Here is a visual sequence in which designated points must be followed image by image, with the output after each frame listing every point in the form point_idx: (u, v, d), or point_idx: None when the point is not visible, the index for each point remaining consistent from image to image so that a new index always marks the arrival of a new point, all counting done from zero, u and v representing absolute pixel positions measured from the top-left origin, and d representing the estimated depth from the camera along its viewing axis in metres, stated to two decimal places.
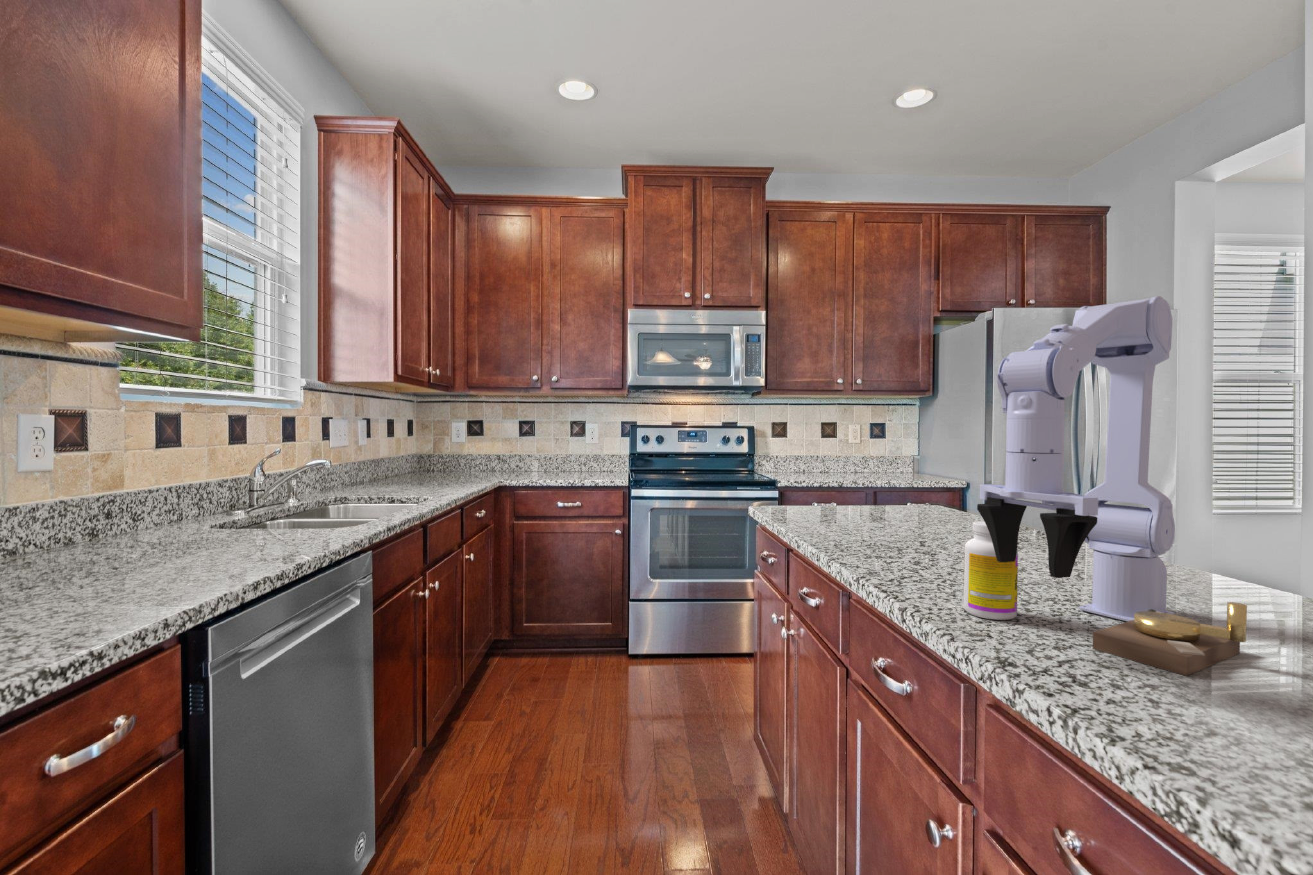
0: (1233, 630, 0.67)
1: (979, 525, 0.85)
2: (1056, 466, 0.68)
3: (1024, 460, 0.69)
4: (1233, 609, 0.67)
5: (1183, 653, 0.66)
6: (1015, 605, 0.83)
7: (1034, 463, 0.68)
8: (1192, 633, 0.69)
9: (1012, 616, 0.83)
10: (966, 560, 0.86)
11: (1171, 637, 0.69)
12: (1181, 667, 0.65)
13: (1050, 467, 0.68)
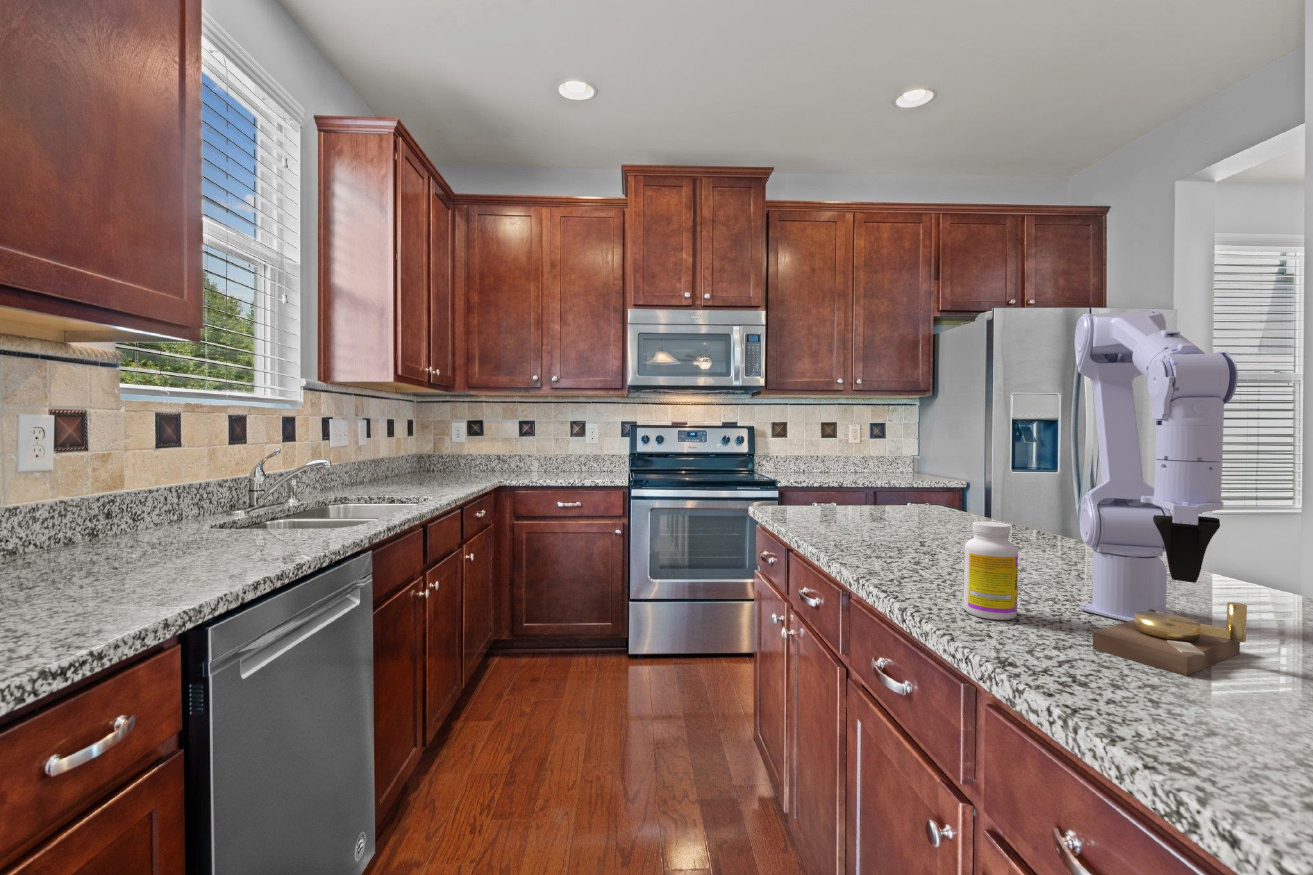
0: (1233, 630, 0.67)
1: (979, 525, 0.85)
2: (1188, 474, 0.66)
3: (1157, 467, 0.69)
4: (1233, 609, 0.67)
5: (1183, 653, 0.66)
6: (1015, 605, 0.83)
7: (1163, 469, 0.68)
8: (1192, 633, 0.69)
9: (1012, 616, 0.83)
10: (966, 560, 0.86)
11: (1171, 637, 0.69)
12: (1181, 667, 0.65)
13: (1179, 475, 0.66)
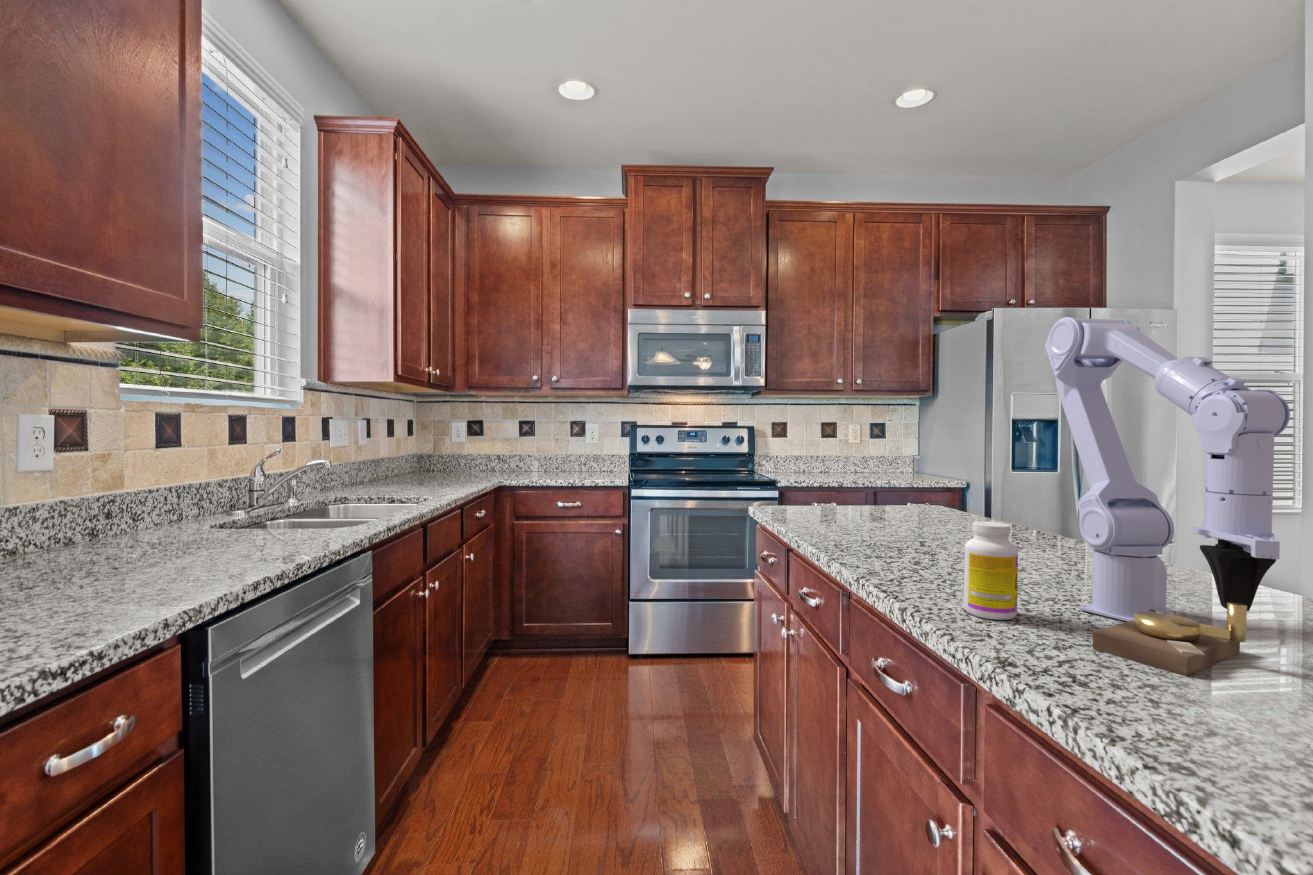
0: (1233, 630, 0.67)
1: (979, 525, 0.85)
2: (1250, 507, 0.68)
3: (1213, 499, 0.71)
4: (1233, 609, 0.67)
5: (1183, 653, 0.66)
6: (1015, 605, 0.83)
7: (1222, 502, 0.70)
8: (1192, 633, 0.69)
9: (1012, 616, 0.83)
10: (966, 560, 0.86)
11: (1171, 637, 0.69)
12: (1181, 667, 0.65)
13: (1241, 508, 0.68)
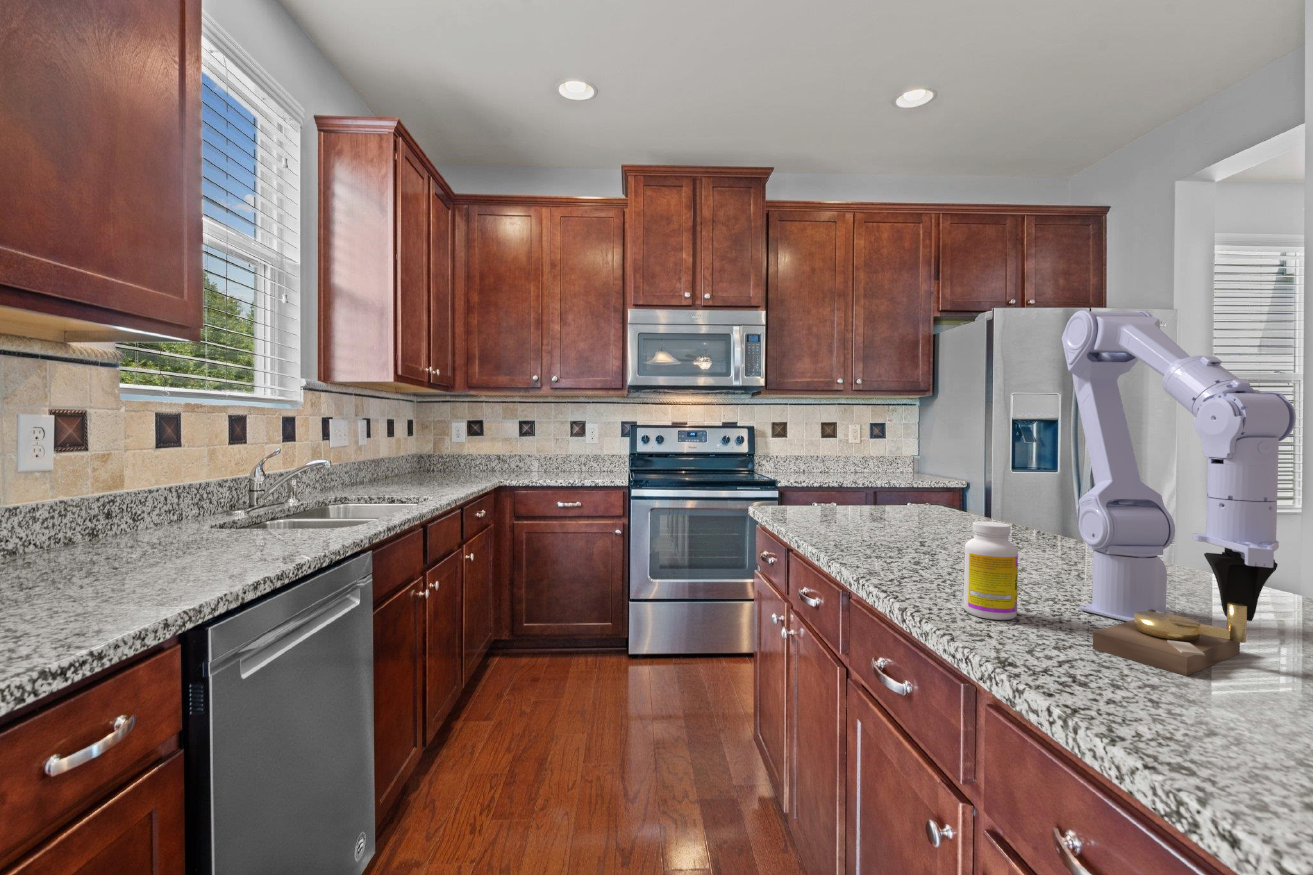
0: (1233, 630, 0.67)
1: (979, 525, 0.85)
2: (1250, 514, 0.66)
3: (1213, 505, 0.69)
4: (1233, 609, 0.67)
5: (1183, 653, 0.66)
6: (1015, 605, 0.83)
7: (1221, 509, 0.68)
8: (1191, 633, 0.69)
9: (1012, 616, 0.83)
10: (966, 560, 0.86)
11: (1170, 637, 0.69)
12: (1181, 667, 0.65)
13: (1240, 514, 0.66)
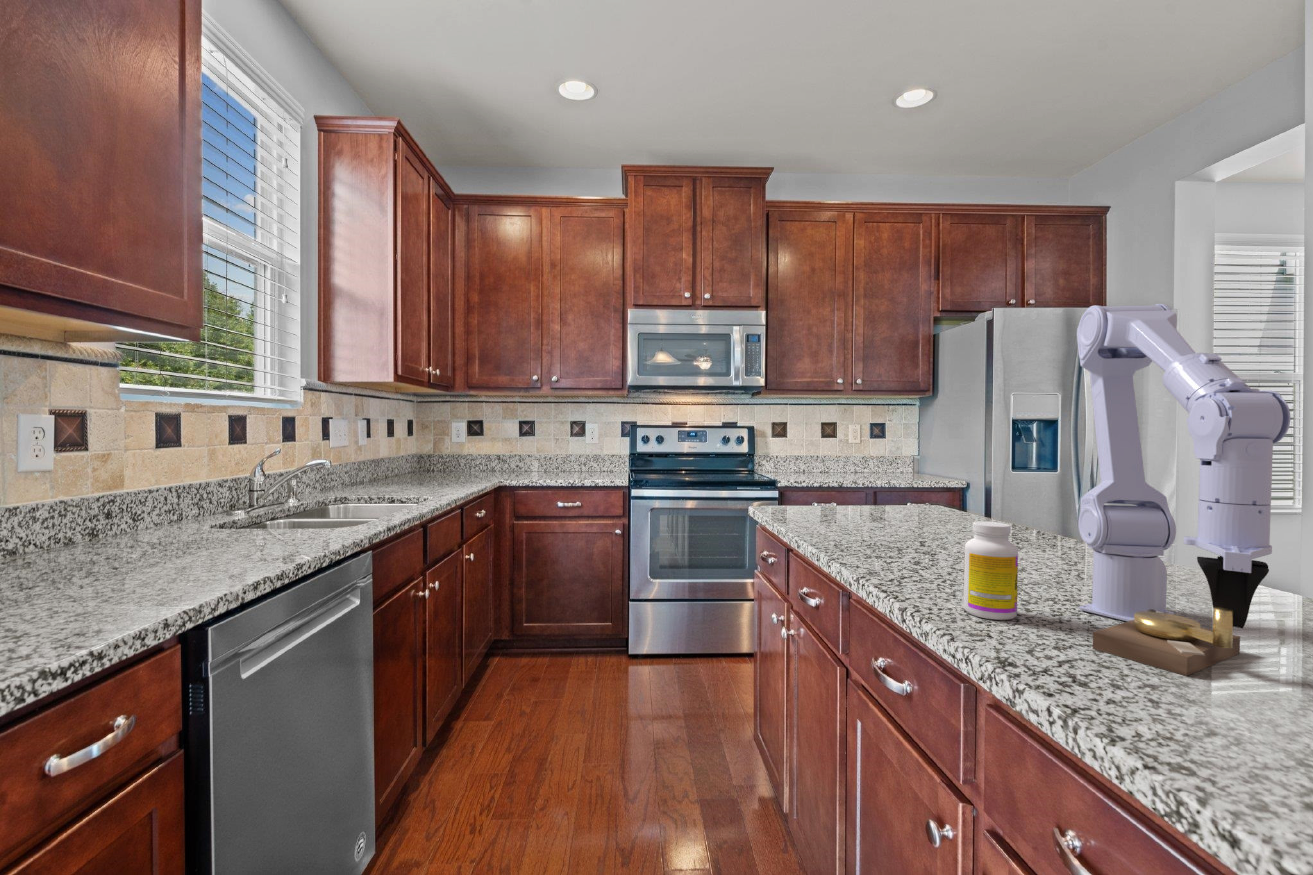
0: (1214, 634, 0.66)
1: (979, 525, 0.85)
2: (1237, 517, 0.64)
3: (1202, 508, 0.67)
4: (1214, 613, 0.66)
5: (1183, 653, 0.66)
6: (1015, 605, 0.83)
7: (1209, 511, 0.66)
8: (1173, 631, 0.69)
9: (1012, 616, 0.83)
10: (966, 560, 0.86)
11: (1149, 632, 0.71)
12: (1181, 667, 0.65)
13: (1227, 518, 0.64)
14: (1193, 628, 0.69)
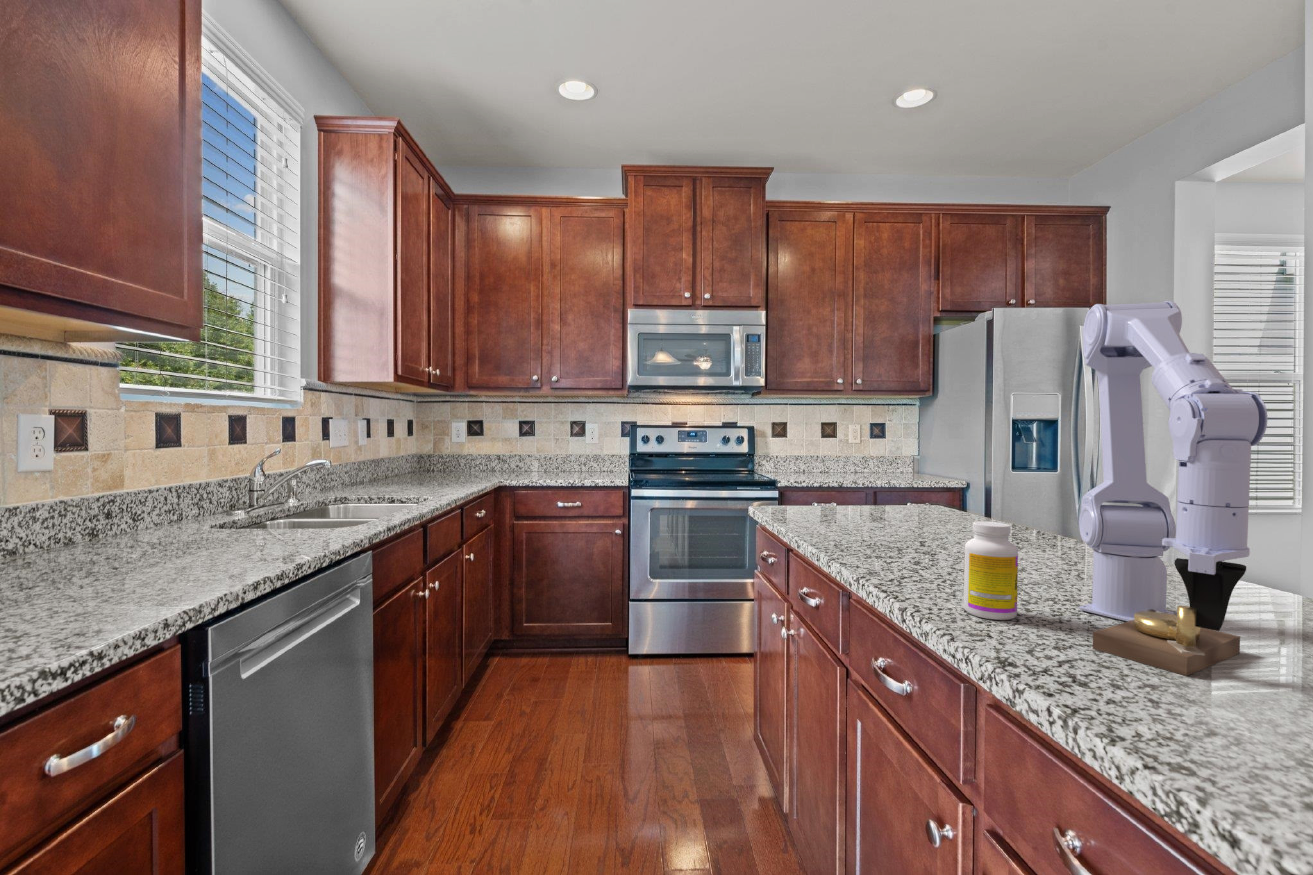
0: (1176, 631, 0.67)
1: (979, 525, 0.85)
2: (1210, 519, 0.64)
3: (1179, 509, 0.67)
4: (1177, 610, 0.67)
5: (1183, 653, 0.66)
6: (1015, 605, 0.83)
7: (1184, 513, 0.66)
8: (1152, 627, 0.70)
9: (1012, 616, 0.83)
10: (966, 560, 0.86)
11: (1136, 627, 0.73)
12: (1181, 667, 0.65)
13: (1200, 519, 0.64)
14: (1173, 627, 0.69)
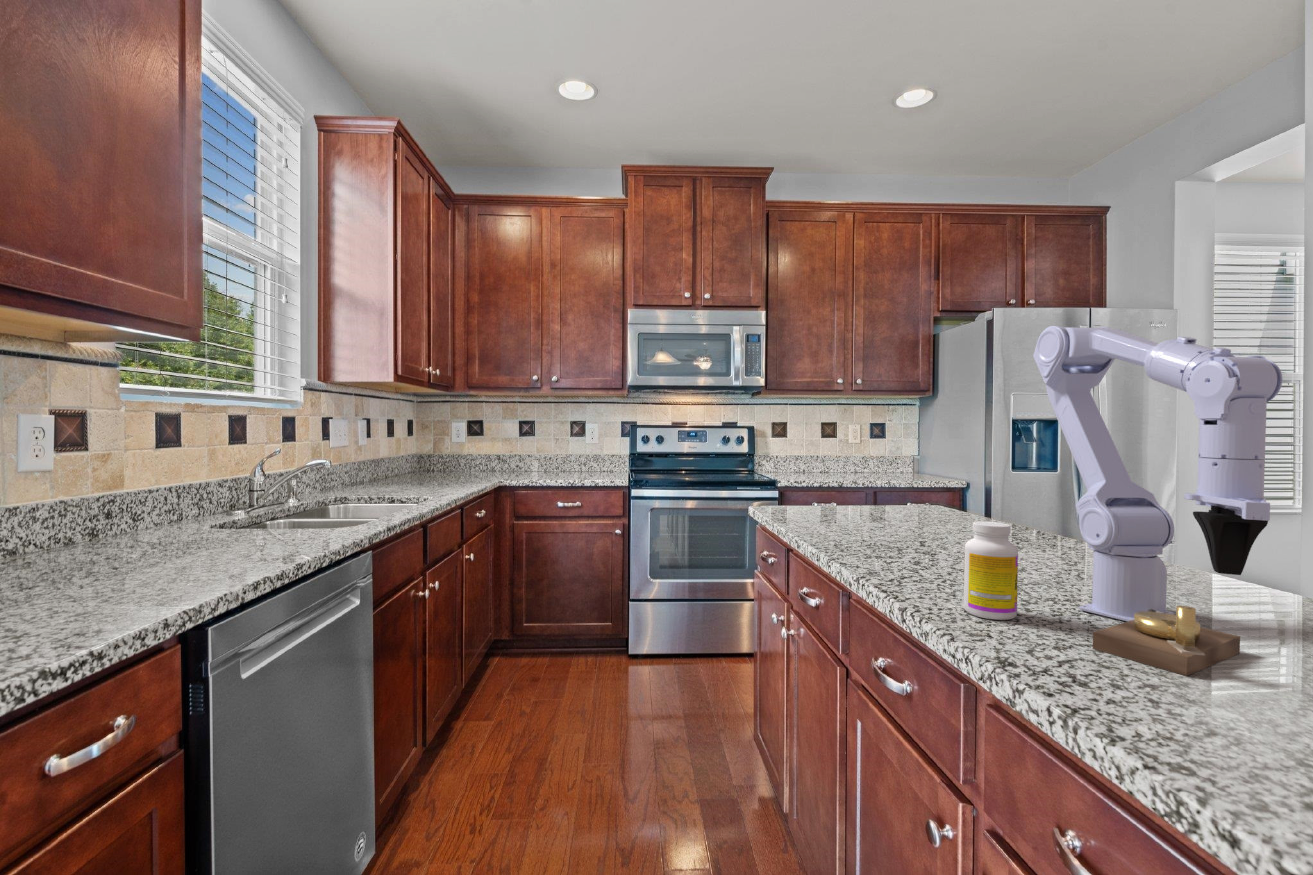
0: (1176, 631, 0.67)
1: (979, 525, 0.85)
2: (1242, 471, 0.69)
3: (1206, 465, 0.71)
4: (1176, 610, 0.67)
5: (1183, 653, 0.66)
6: (1015, 605, 0.83)
7: (1214, 467, 0.70)
8: (1152, 627, 0.71)
9: (1012, 616, 0.83)
10: (966, 560, 0.86)
11: (1136, 627, 0.73)
12: (1181, 667, 0.65)
13: (1233, 472, 0.69)
14: (1172, 627, 0.69)
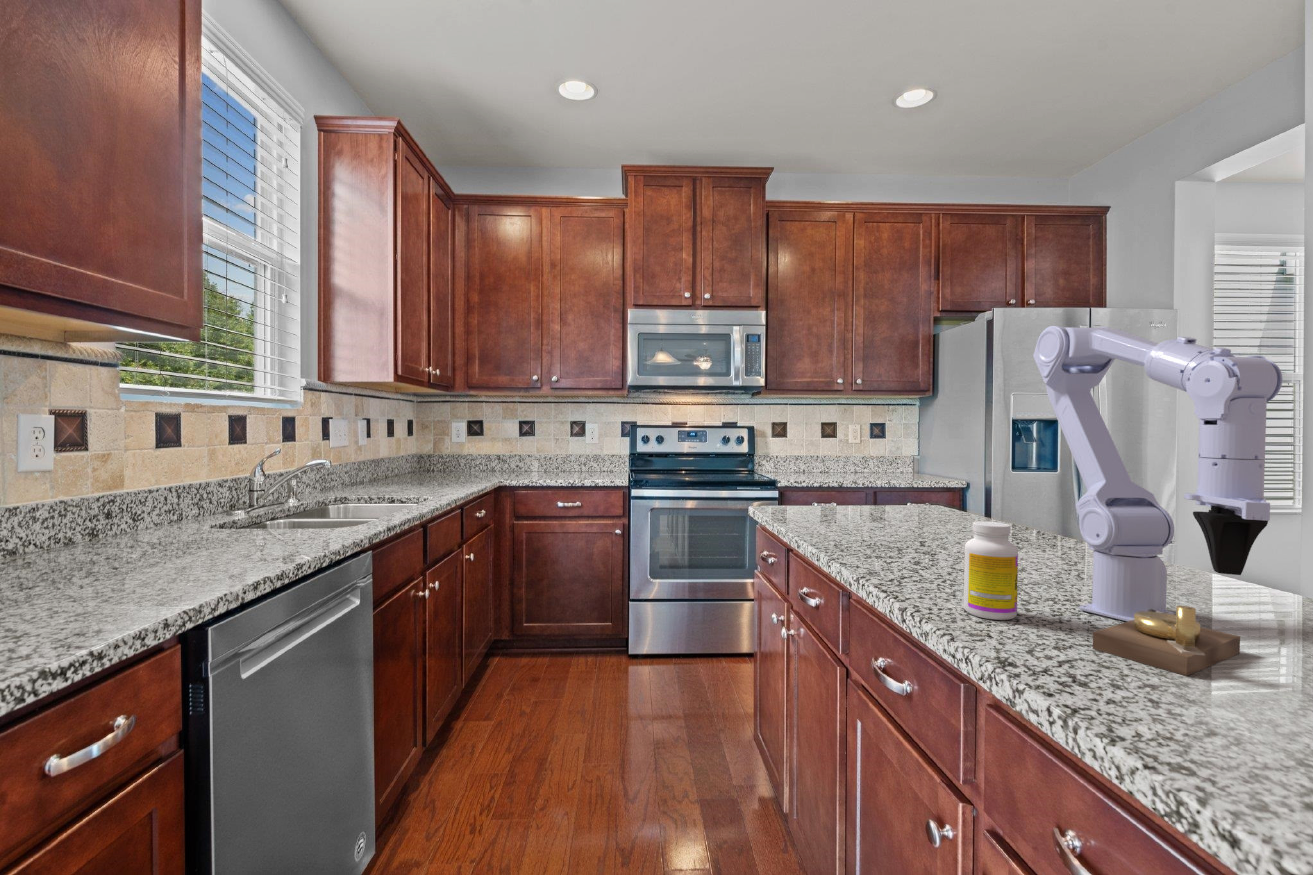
0: (1176, 631, 0.67)
1: (979, 525, 0.85)
2: (1242, 471, 0.69)
3: (1206, 465, 0.71)
4: (1176, 610, 0.67)
5: (1183, 653, 0.66)
6: (1015, 605, 0.83)
7: (1214, 467, 0.70)
8: (1152, 627, 0.71)
9: (1012, 616, 0.83)
10: (966, 560, 0.86)
11: (1136, 627, 0.73)
12: (1181, 667, 0.65)
13: (1233, 472, 0.69)
14: (1172, 627, 0.69)
